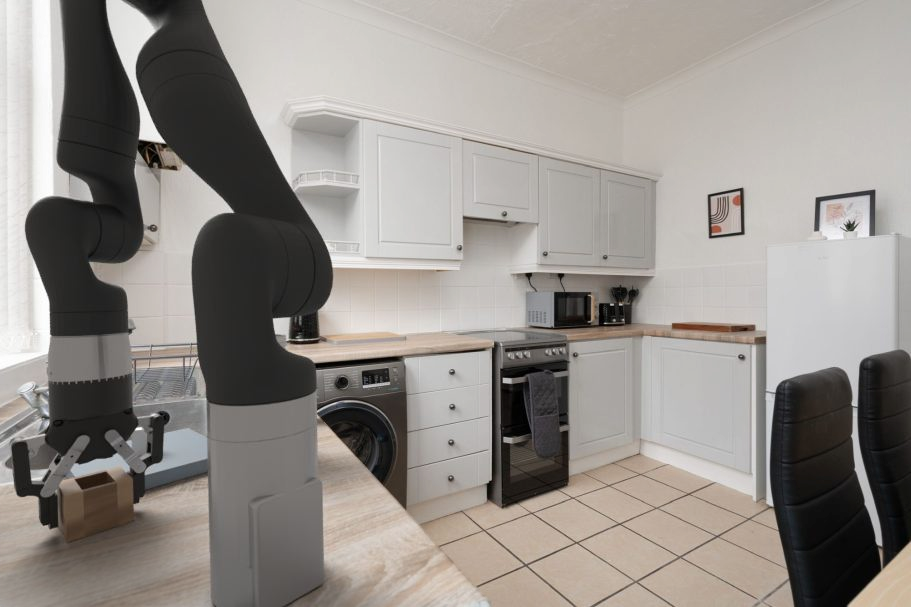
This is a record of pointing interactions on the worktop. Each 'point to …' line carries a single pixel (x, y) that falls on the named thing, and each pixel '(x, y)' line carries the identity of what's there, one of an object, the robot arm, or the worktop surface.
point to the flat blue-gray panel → (179, 459)
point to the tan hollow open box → (94, 503)
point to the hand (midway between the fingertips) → (95, 513)
